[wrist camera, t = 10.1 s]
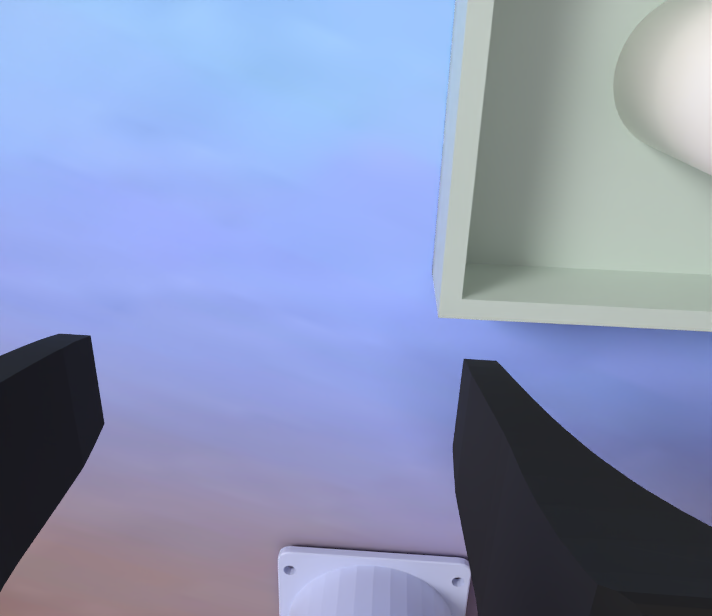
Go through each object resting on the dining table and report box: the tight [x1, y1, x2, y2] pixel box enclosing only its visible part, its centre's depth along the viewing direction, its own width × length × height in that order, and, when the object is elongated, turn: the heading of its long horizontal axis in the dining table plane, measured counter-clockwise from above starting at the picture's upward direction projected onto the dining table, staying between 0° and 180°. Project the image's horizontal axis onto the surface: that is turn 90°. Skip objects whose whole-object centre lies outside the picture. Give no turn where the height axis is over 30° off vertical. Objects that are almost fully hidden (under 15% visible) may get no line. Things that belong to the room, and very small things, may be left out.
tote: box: [432, 0, 712, 332], centre depth 16 cm, size 13×13×4 cm
